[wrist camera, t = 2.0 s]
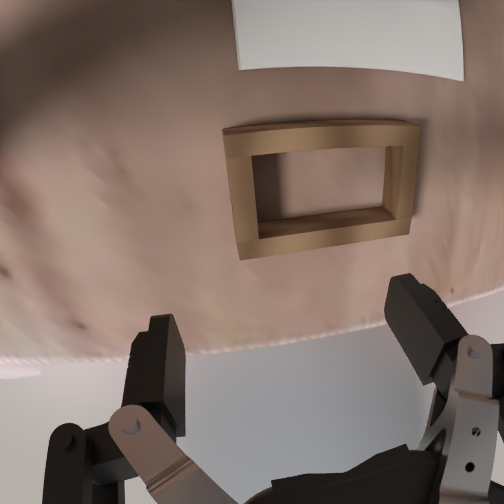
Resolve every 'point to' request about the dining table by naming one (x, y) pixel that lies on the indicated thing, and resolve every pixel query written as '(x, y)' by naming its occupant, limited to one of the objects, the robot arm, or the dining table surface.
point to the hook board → (351, 35)
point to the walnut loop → (325, 225)
